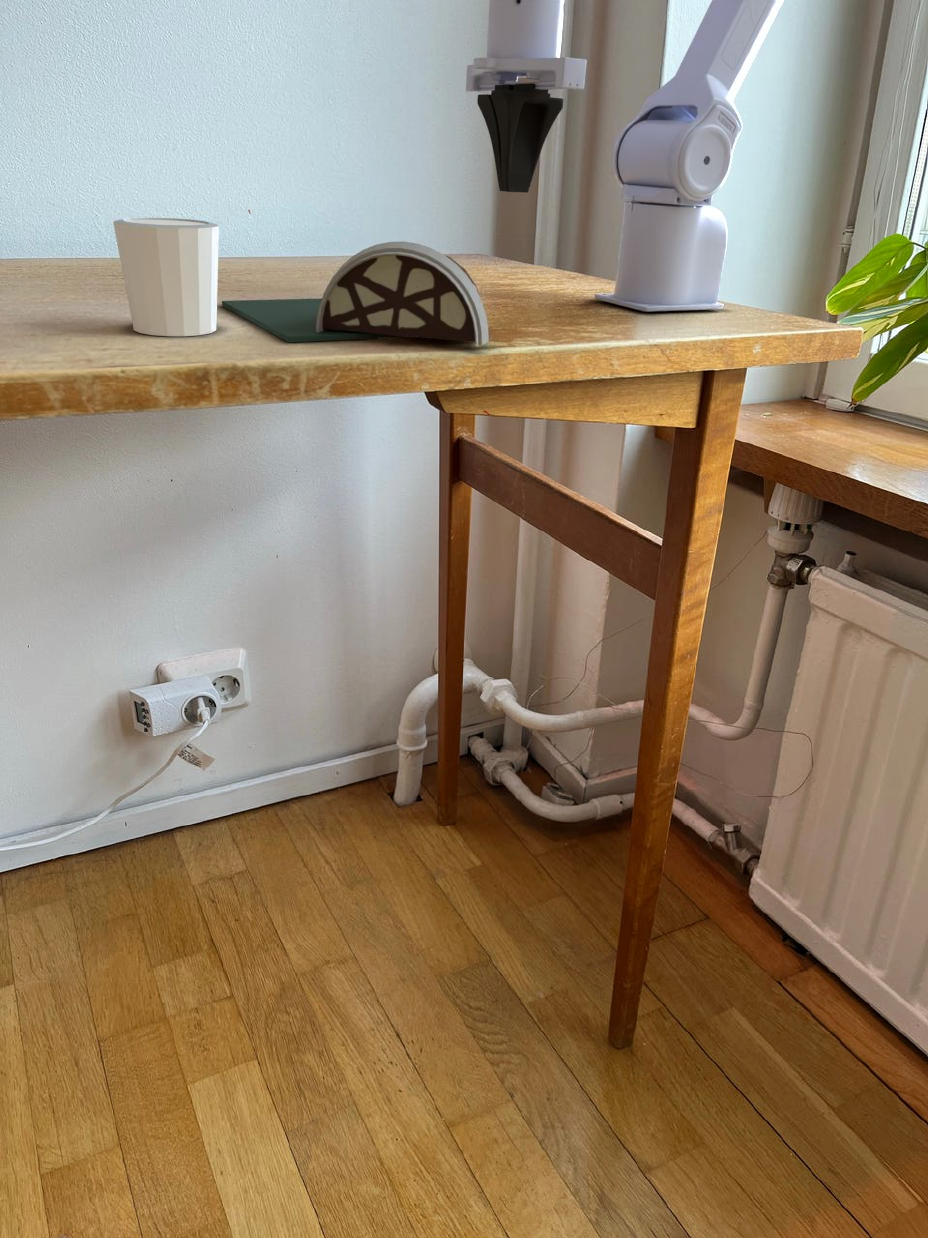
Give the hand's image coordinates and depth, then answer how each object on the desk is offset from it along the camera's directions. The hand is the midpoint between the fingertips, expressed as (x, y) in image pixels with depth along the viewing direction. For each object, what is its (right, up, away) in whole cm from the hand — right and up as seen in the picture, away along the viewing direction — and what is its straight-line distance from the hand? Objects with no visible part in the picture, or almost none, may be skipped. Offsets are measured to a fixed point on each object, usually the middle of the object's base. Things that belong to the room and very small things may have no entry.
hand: (514, 191), depth 78 cm
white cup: (-24, -15, -11) cm, 31 cm away
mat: (-15, -12, -5) cm, 19 cm away
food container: (-7, -9, -5) cm, 12 cm away
